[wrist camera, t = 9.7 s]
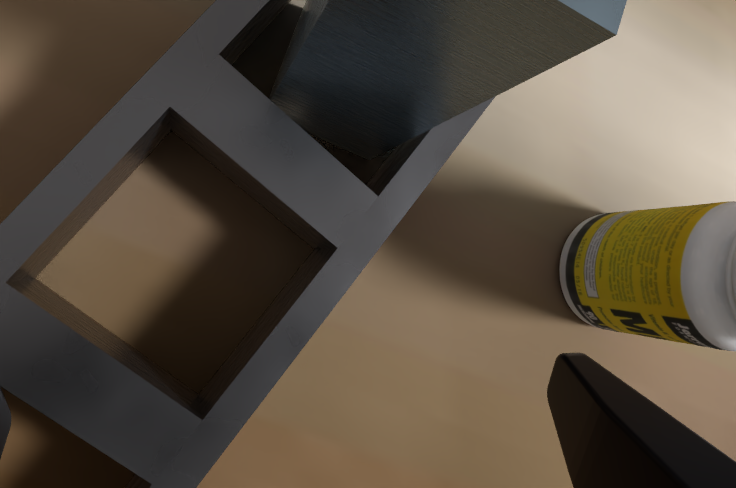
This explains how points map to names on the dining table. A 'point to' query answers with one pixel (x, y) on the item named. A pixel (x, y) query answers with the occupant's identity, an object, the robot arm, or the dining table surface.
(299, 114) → the light blue tall block
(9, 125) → the dining table surface
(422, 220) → the dining table surface
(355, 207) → the grey slotted rack
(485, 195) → the dining table surface
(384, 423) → the dining table surface
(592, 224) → the supplement bottle
